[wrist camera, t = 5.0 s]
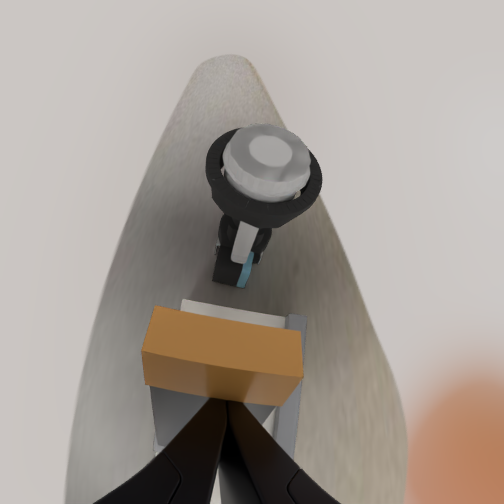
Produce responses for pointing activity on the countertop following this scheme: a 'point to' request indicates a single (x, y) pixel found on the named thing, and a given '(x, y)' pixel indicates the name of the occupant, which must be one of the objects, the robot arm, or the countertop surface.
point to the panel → (286, 417)
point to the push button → (257, 192)
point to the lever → (215, 367)
